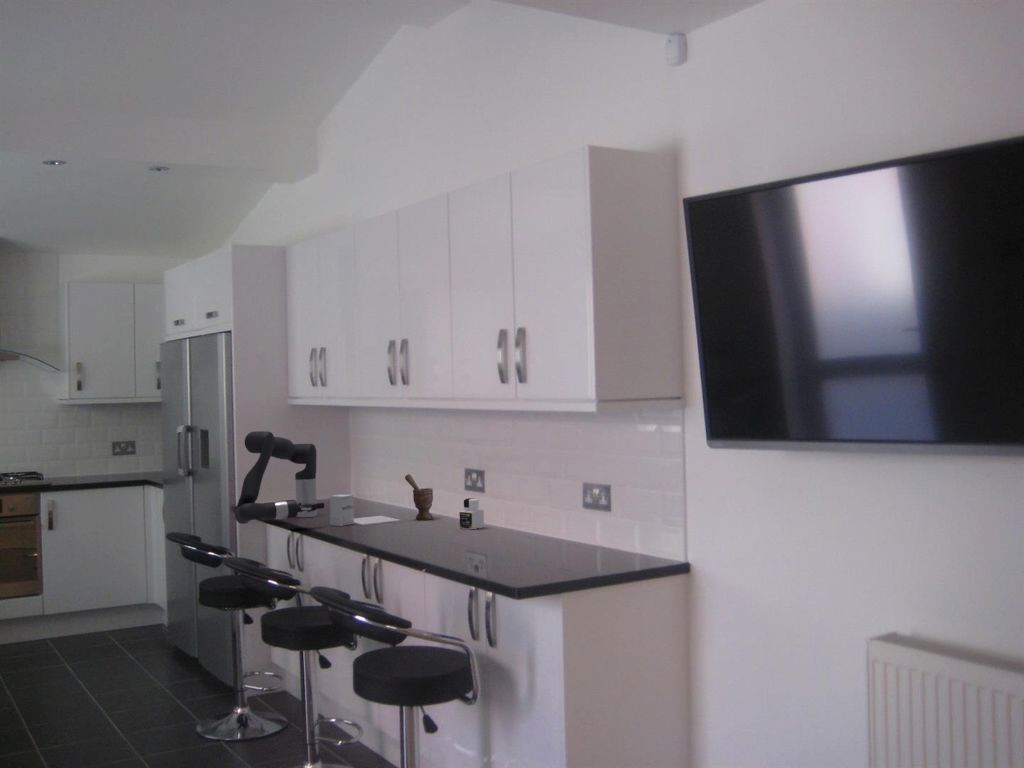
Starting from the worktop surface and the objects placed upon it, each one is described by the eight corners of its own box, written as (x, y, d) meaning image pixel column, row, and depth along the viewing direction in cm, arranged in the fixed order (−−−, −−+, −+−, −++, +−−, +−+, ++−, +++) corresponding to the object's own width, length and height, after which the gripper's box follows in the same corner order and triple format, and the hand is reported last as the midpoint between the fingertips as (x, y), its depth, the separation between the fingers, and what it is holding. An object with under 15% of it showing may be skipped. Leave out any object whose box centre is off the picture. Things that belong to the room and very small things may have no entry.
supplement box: (341, 526, 444) (340, 496, 444) (329, 525, 448) (328, 495, 448) (354, 524, 450) (353, 494, 450) (342, 523, 454) (341, 493, 454)
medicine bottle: (459, 528, 425) (458, 499, 425) (472, 526, 431) (471, 497, 431) (472, 529, 421) (471, 500, 420) (484, 527, 426) (483, 498, 426)
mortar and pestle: (414, 521, 450) (412, 475, 450) (404, 520, 457) (402, 474, 457) (437, 519, 457) (435, 473, 457) (427, 517, 464) (425, 472, 464)
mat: (343, 521, 460) (343, 519, 460) (381, 516, 470) (381, 515, 470) (362, 525, 443) (362, 524, 443) (401, 521, 453) (401, 519, 453)
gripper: (289, 501, 430) (329, 497, 439) (278, 499, 441) (317, 495, 450) (290, 520, 430) (330, 515, 439) (279, 517, 441) (318, 512, 450)
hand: (323, 505), depth 445 cm, fingers closed
